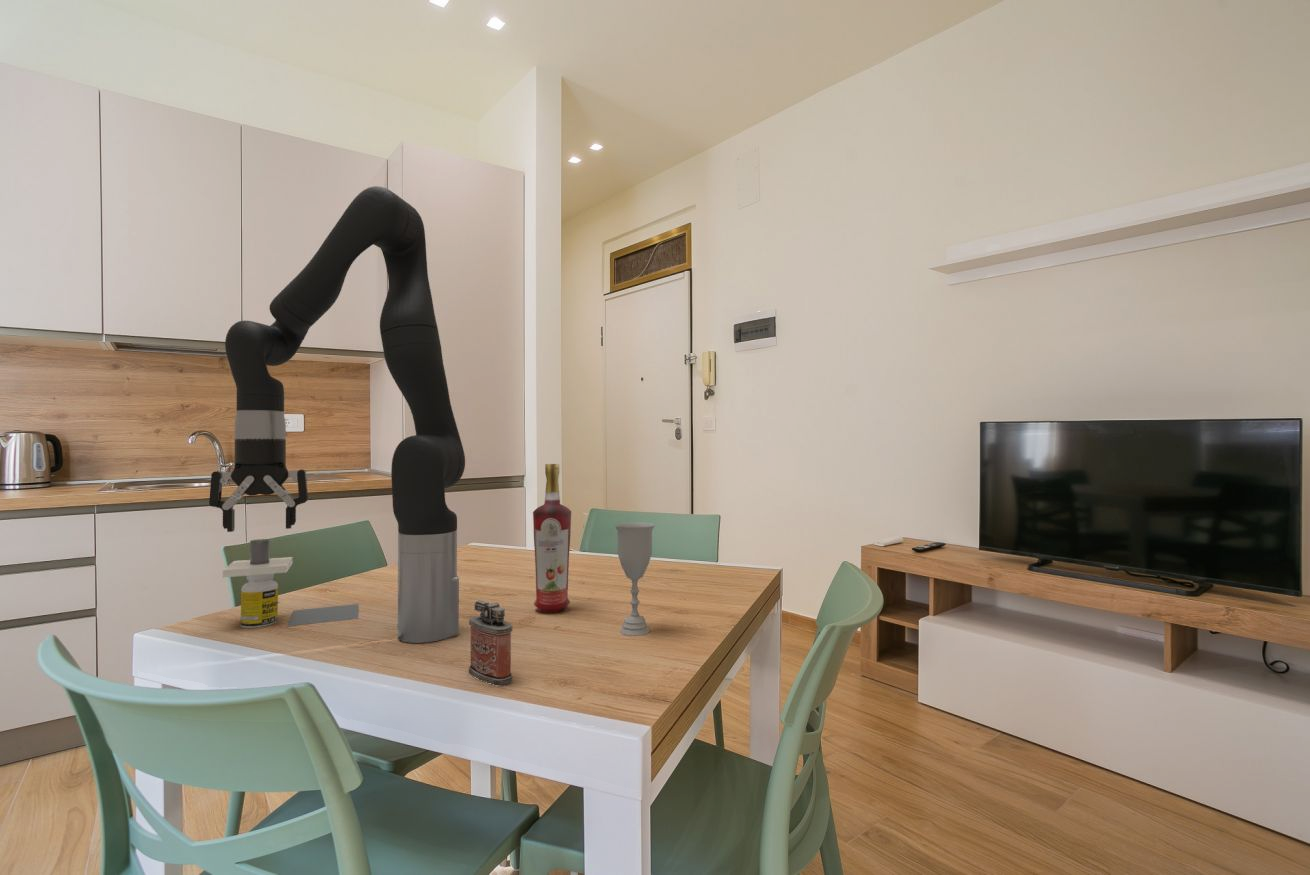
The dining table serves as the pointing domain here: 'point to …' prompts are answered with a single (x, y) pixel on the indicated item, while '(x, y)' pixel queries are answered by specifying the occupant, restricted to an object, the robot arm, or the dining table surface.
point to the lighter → (490, 644)
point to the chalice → (634, 567)
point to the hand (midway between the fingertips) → (260, 529)
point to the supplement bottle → (259, 601)
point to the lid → (258, 562)
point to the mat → (323, 614)
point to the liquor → (552, 547)
